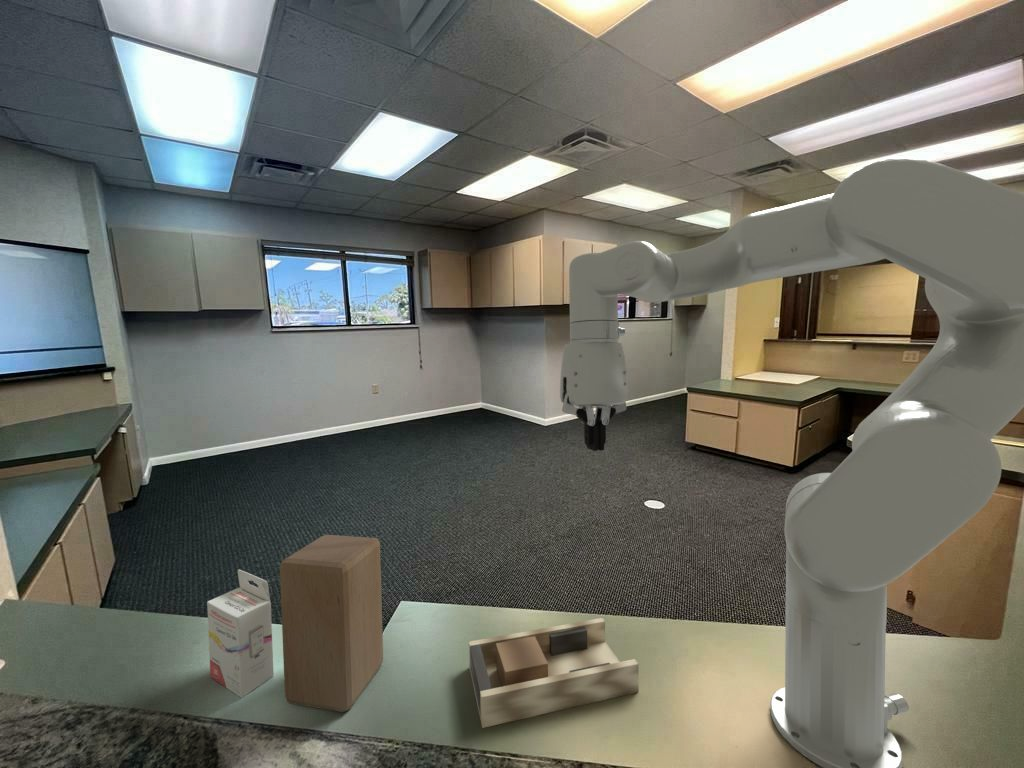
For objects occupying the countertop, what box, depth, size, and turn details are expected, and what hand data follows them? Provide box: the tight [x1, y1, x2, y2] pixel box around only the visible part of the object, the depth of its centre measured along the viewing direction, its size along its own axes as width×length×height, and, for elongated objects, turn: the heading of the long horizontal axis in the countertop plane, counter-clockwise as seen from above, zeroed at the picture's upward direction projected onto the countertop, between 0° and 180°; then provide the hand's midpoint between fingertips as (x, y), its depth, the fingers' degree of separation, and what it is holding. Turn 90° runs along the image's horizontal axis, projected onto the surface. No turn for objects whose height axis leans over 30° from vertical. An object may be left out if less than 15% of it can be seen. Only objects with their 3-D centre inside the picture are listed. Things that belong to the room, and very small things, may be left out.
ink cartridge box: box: [206, 568, 275, 698], centre depth 61 cm, size 9×5×15 cm, turn 62°
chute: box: [468, 617, 640, 729], centre depth 60 cm, size 22×11×4 cm, turn 104°
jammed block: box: [496, 636, 548, 687], centre depth 59 cm, size 6×6×4 cm
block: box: [279, 534, 384, 713], centre depth 60 cm, size 10×10×20 cm
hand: (595, 448), depth 67 cm, fingers closed
